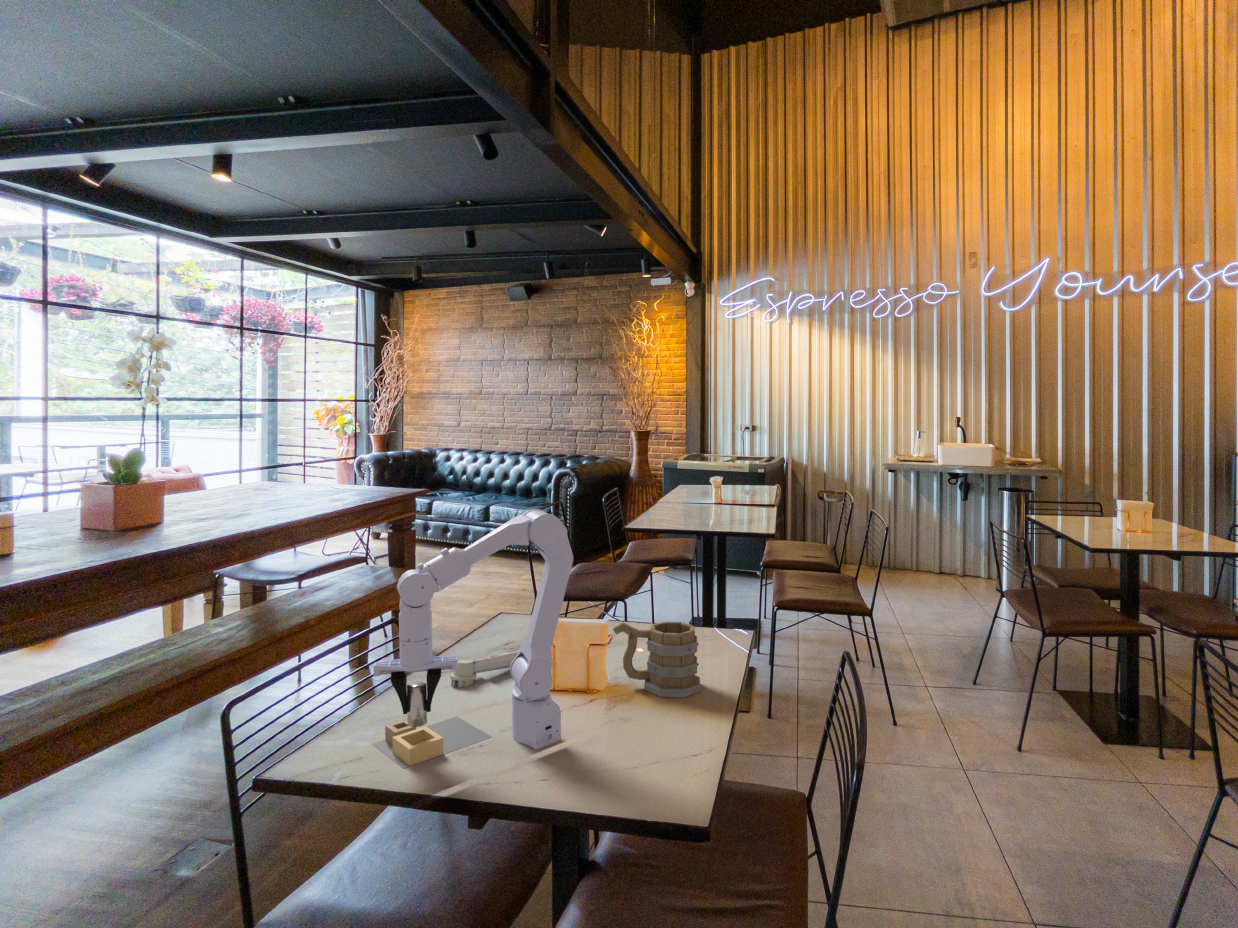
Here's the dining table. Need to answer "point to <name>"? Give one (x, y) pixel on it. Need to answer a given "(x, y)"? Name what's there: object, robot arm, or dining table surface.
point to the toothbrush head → (480, 667)
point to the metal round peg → (416, 704)
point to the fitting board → (427, 740)
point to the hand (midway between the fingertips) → (417, 710)
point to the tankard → (665, 658)
